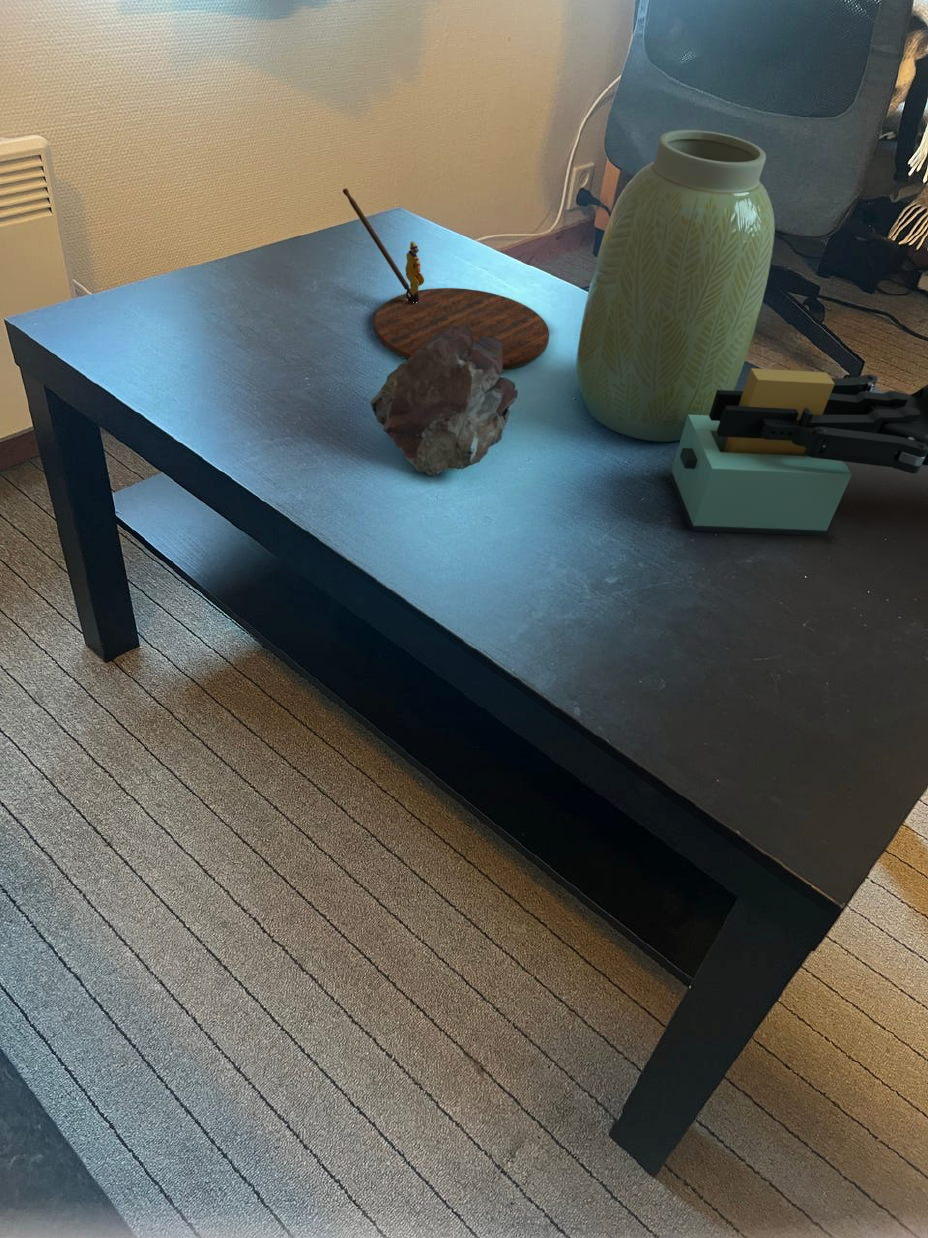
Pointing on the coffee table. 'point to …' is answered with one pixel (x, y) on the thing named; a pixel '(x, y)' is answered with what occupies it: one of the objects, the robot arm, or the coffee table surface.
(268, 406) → the coffee table surface
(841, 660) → the coffee table surface
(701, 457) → the toaster
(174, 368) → the coffee table surface
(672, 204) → the vase
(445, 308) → the incense holder
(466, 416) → the mineral specimen
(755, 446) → the toast
